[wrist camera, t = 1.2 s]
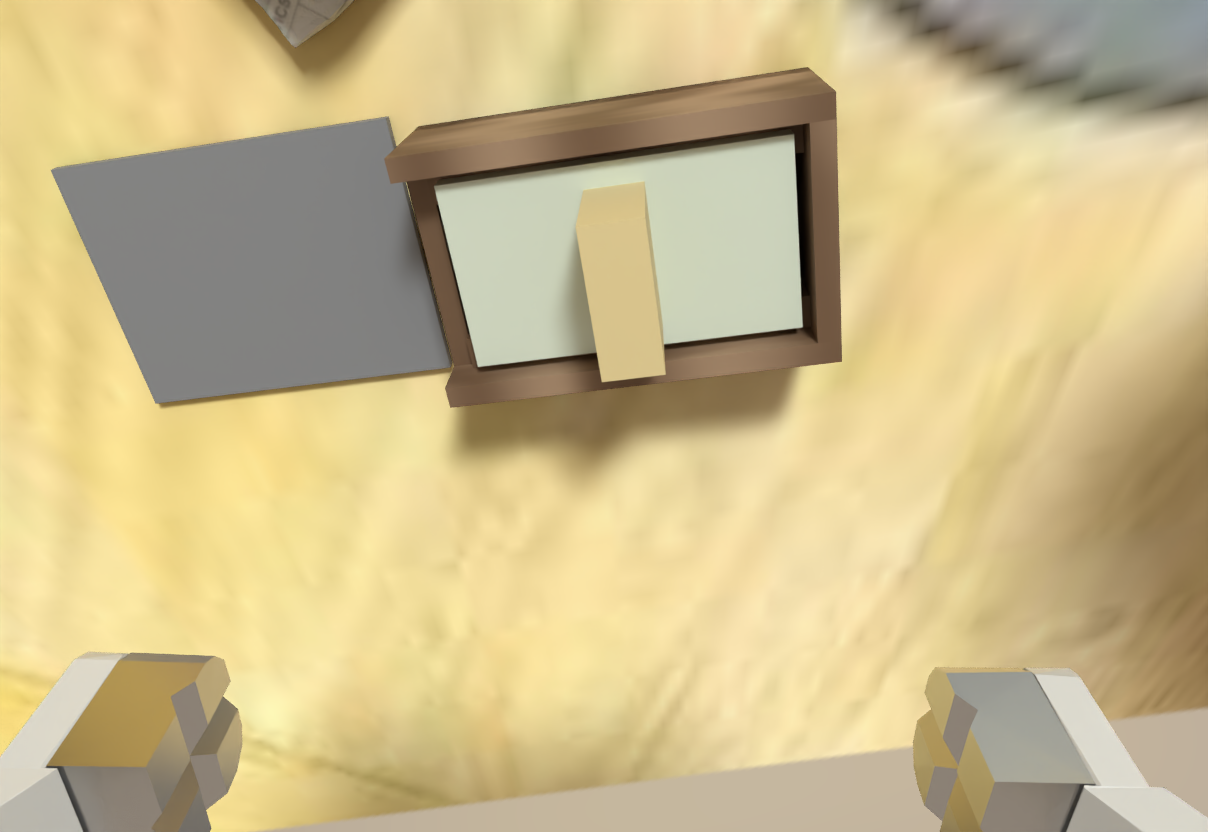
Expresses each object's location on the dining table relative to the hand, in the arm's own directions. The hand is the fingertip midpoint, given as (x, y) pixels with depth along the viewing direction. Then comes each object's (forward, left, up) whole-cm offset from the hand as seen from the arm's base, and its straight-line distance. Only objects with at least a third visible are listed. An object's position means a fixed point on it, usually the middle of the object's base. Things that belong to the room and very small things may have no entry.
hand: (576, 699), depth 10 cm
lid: (0, +2, -22) cm, 22 cm away
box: (0, +2, -26) cm, 26 cm away
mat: (+15, +2, -26) cm, 29 cm away
